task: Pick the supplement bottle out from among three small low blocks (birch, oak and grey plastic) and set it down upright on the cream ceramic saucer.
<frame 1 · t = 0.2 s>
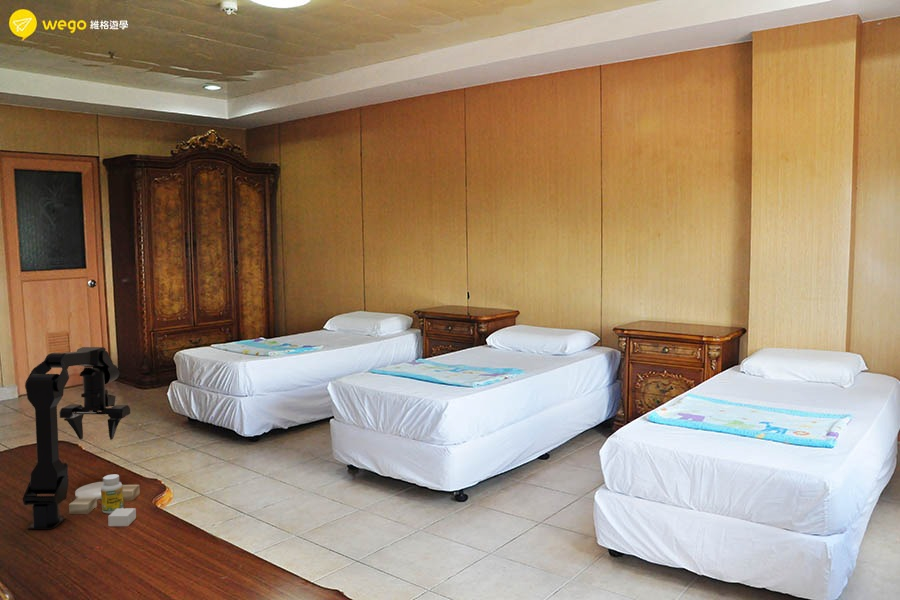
hand: (96, 439, 204), 14 cm above the table, tool pointing down, fingers open, 9 cm apart
cream saucer: (98, 492, 200), on the table
grey plastic block: (122, 523, 180), on the table
birch block: (83, 511, 187), on the table
supplement bottle: (112, 510, 187), on the table
oak block: (127, 497, 196), on the table
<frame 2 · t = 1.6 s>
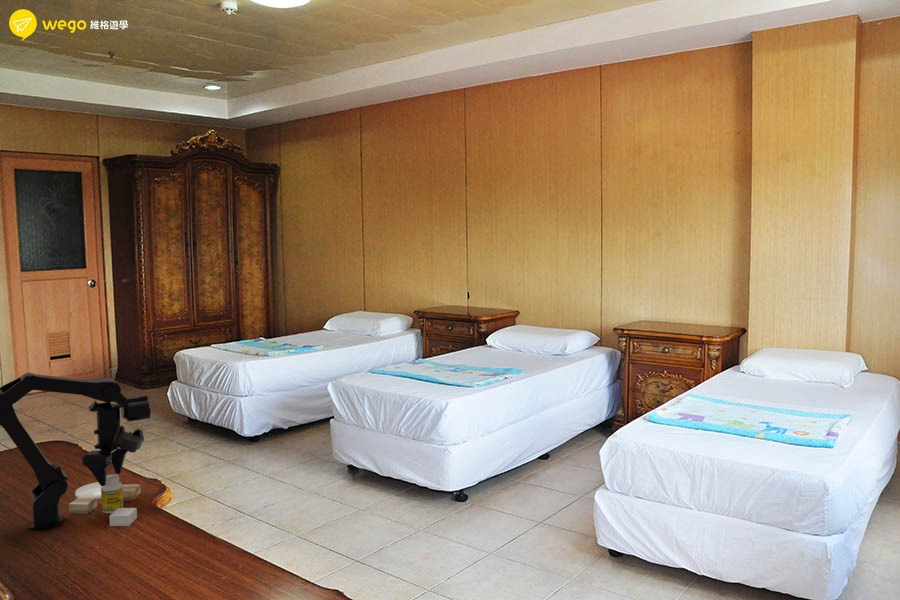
hand: (110, 479, 186), 9 cm above the table, tool pointing down, fingers open, 9 cm apart
nothing on the table moved.
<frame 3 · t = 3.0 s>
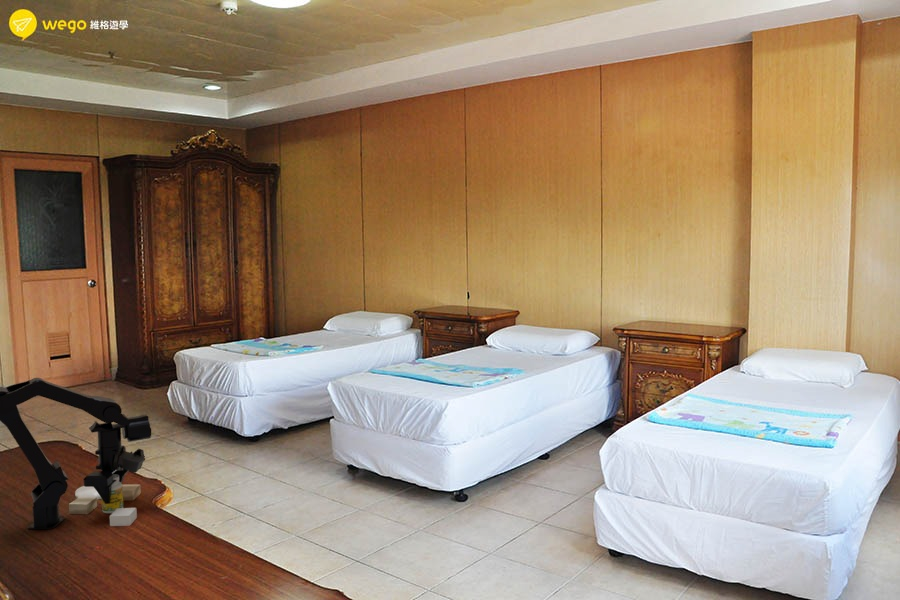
hand: (112, 499, 187), 3 cm above the table, tool pointing down, fingers closed on supplement bottle, 5 cm apart
supplement bottle: (112, 510, 187), on the table, touching gripper
everything else where it was.
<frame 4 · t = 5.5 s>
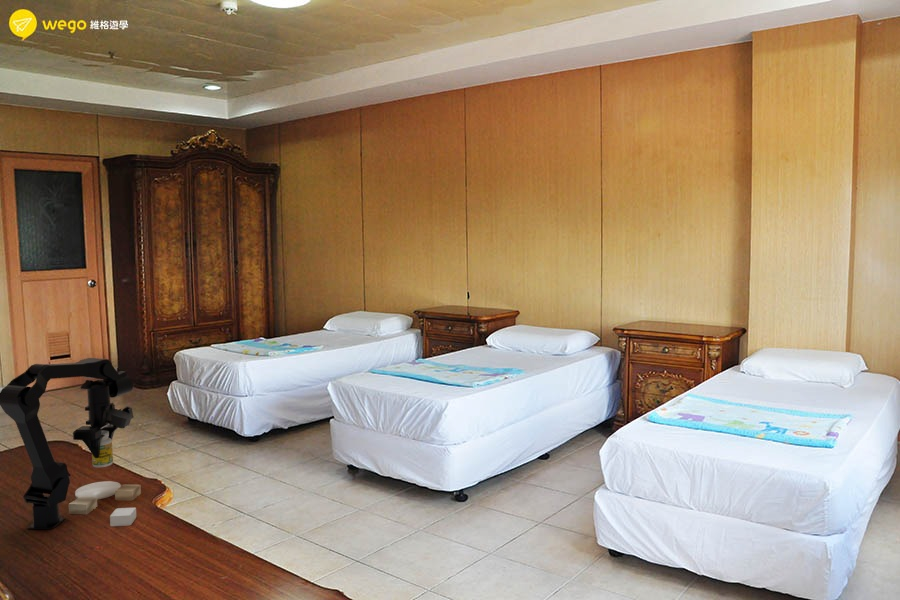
hand: (101, 454, 195), 13 cm above the table, tool pointing down, fingers closed on supplement bottle, 5 cm apart
supplement bottle: (102, 465, 195), point 10 cm above the table, touching gripper
everything else where it was.
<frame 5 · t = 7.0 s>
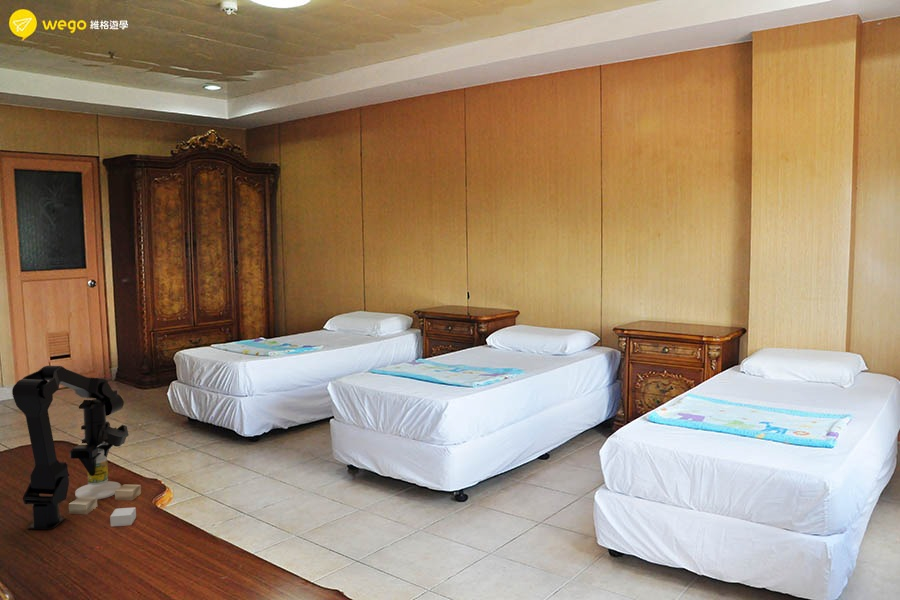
hand: (97, 472, 199), 6 cm above the table, tool pointing down, fingers closed on supplement bottle, 5 cm apart
supplement bottle: (98, 482, 199), point 3 cm above the table, touching gripper
everything else where it was.
when the fingers open (5 cm above the table, at t = 8.1 s): supplement bottle stays where it is, resting on cream saucer.
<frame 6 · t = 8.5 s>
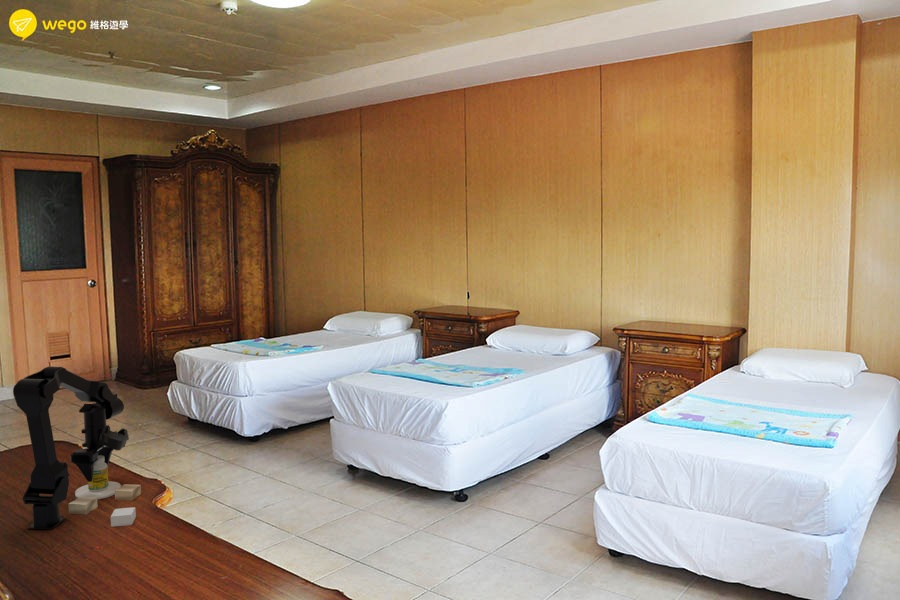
hand: (97, 475, 199), 5 cm above the table, tool pointing down, fingers open, 9 cm apart
supplement bottle: (98, 489, 199), point 1 cm above the table, touching cream saucer
everything else where it was.
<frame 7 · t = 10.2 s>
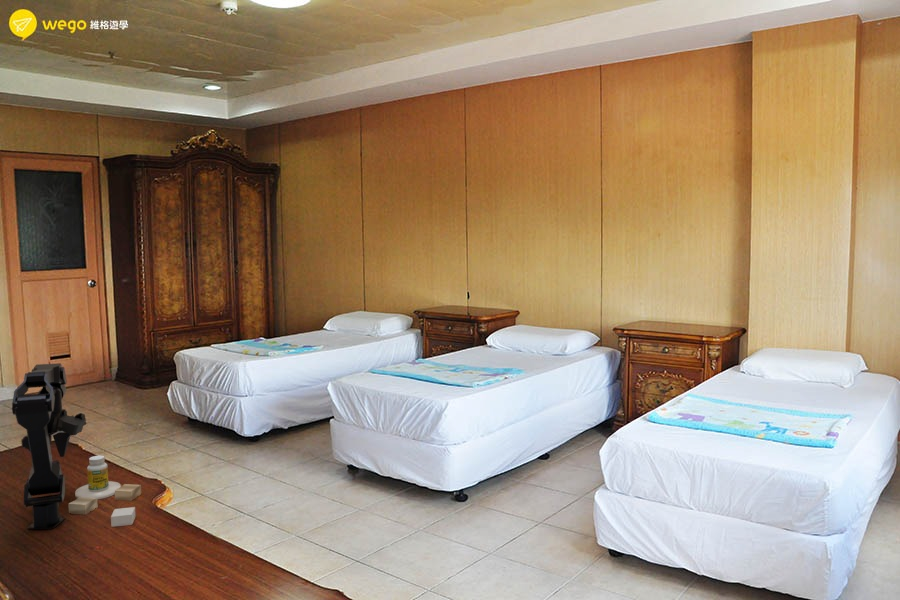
hand: (53, 462, 191), 12 cm above the table, tool pointing down, fingers open, 9 cm apart
nothing on the table moved.
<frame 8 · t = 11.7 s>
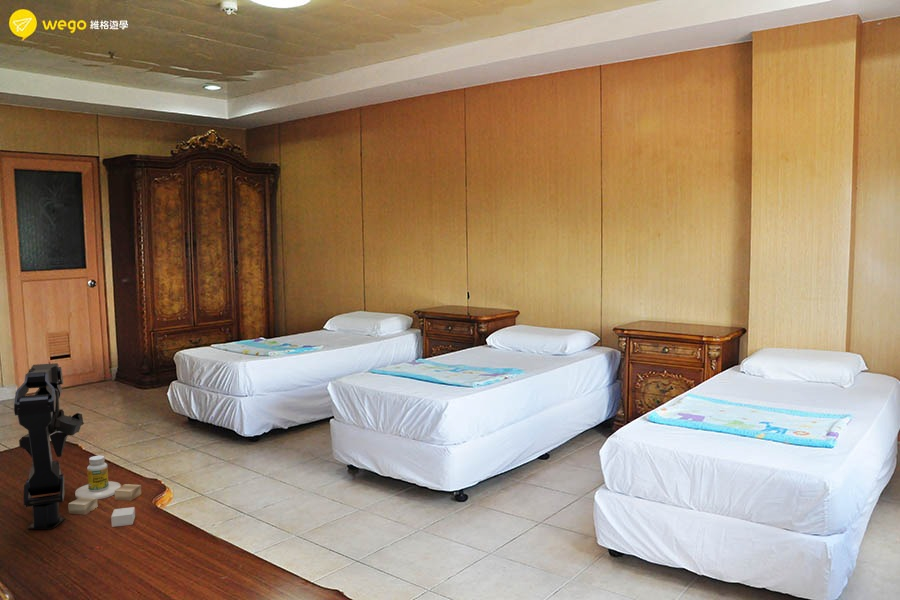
hand: (50, 462, 190), 12 cm above the table, tool pointing down, fingers open, 9 cm apart
nothing on the table moved.
at the end: supplement bottle inside the target area on the cream saucer (0.1 cm from its centre), point 0.8 cm above the cream saucer's base; supplement bottle tilted 0°; the gripper is holding nothing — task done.
